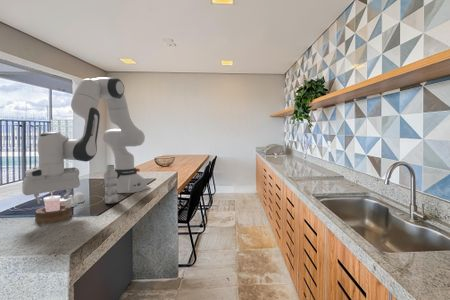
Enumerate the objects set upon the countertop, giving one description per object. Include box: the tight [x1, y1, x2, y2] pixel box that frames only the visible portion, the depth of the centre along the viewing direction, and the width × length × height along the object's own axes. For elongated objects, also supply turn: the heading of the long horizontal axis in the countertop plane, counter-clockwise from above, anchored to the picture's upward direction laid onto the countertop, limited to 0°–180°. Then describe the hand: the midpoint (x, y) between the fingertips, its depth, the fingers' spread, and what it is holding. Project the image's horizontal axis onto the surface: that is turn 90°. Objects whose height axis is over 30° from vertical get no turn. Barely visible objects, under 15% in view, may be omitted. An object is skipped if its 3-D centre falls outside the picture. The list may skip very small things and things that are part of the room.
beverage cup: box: [43, 191, 62, 212], centre depth 105 cm, size 6×6×14 cm
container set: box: [60, 191, 85, 208], centre depth 123 cm, size 20×5×6 cm, turn 5°
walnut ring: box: [34, 204, 73, 224], centre depth 106 cm, size 12×12×4 cm
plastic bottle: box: [103, 164, 119, 205], centre depth 126 cm, size 6×7×20 cm
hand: (53, 201), depth 105 cm, fingers open, 8 cm apart
